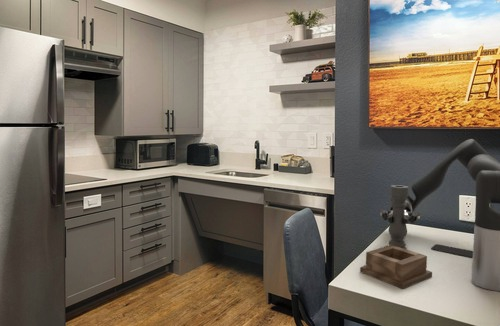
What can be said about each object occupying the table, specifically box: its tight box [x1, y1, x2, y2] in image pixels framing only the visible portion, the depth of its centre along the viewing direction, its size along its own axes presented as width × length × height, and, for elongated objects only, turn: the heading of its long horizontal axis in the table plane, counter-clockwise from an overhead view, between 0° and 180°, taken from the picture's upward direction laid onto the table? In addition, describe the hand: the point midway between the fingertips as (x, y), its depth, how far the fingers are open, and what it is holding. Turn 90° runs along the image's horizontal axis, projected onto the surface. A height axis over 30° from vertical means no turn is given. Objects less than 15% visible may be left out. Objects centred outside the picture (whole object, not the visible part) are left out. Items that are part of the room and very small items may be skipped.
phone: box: [430, 243, 473, 259], centre depth 136 cm, size 7×1×15 cm
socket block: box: [359, 244, 433, 290], centre depth 115 cm, size 15×15×6 cm
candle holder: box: [388, 184, 409, 250], centre depth 130 cm, size 6×6×25 cm
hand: (397, 220), depth 127 cm, fingers closed on candle holder, 4 cm apart
